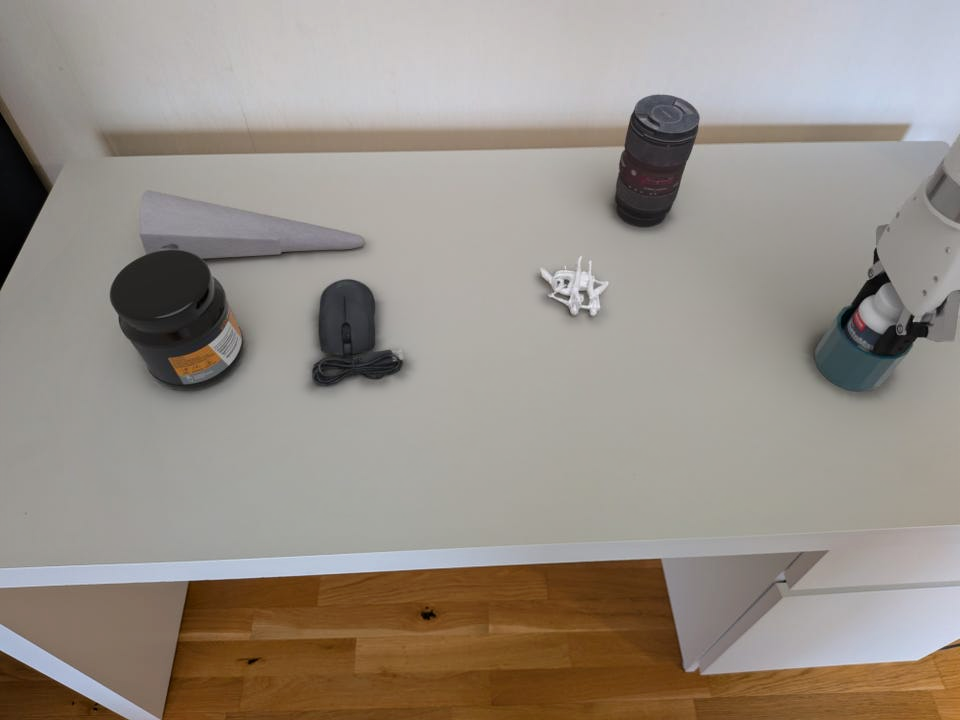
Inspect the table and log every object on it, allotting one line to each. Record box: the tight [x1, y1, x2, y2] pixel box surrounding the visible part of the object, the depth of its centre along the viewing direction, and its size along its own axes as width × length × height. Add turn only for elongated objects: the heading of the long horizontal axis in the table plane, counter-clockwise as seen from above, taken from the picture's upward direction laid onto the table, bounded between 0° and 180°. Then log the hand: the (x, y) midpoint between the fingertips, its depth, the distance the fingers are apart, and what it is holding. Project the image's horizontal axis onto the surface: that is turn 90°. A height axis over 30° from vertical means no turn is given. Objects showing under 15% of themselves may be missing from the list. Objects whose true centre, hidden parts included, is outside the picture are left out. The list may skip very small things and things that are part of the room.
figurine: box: [539, 255, 610, 317], centre depth 81 cm, size 3×8×8 cm
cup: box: [814, 304, 914, 393], centre depth 74 cm, size 8×8×6 cm
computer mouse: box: [311, 278, 405, 387], centre depth 77 cm, size 10×15×4 cm
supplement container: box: [109, 250, 245, 391], centre depth 71 cm, size 10×10×12 cm
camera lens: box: [614, 93, 701, 228], centre depth 85 cm, size 8×8×15 cm
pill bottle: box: [842, 282, 915, 356], centre depth 71 cm, size 5×5×9 cm
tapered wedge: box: [139, 189, 365, 260], centre depth 86 cm, size 8×9×26 cm
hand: (877, 327), depth 71 cm, fingers closed on pill bottle, 5 cm apart
